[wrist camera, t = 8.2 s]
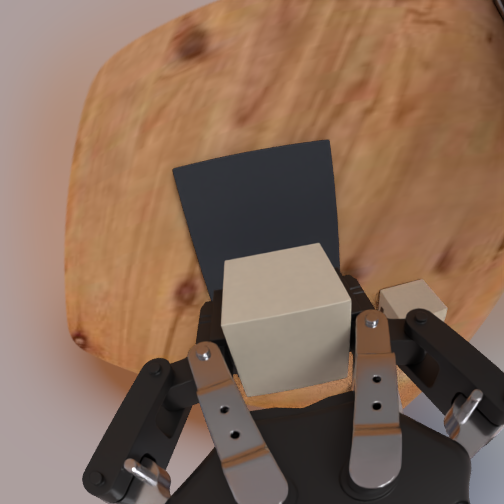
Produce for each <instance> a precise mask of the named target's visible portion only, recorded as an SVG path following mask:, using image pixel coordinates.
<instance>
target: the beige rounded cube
mask: <svg viewBox="0 0 504 504" xmlns="http://www.w3.org/2000/svg"><path fill="white" fill-rule="evenodd" d="M221 327H222V330H223V333H224V336H225V339H226V341H227V344H228V347H229V350H230V353H231V355H232V358H233V361H234V364H235V366H236V369H237V372H238V374H239V377H240V380H241V382H242V385H243V388H244V390H245V393H246V395H247V397H251V396H258V395H264V394H271V393H277V392H282V391H288V390H293V389H298V388H303V387H308V386H313V385H317V384H322V383H326V382H330V381H335V380H339V379H343V378H346V377H347V374H348V362H349V348H350V329H351V298H350V296H349V295H348V293H347V291H346V289H345V287H344V285H343V284H342V282H341V280H340V278H339V276H338V275H337V273H336V271H335V269H334V268H333V266H332V264H331V262H330V260H329V259H328V257H327V255H326V254H325V252H324V250H323V248H322V247H321V245H320V243H315V244H310V245H305V246H300V247H295V248H289V249H284V250H279V251H274V252H268V253H263V254H258V255H253V256H248V257H242V258H237V259H232V260H226V261H225V263H224V279H223V296H222V315H221Z"/></svg>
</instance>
